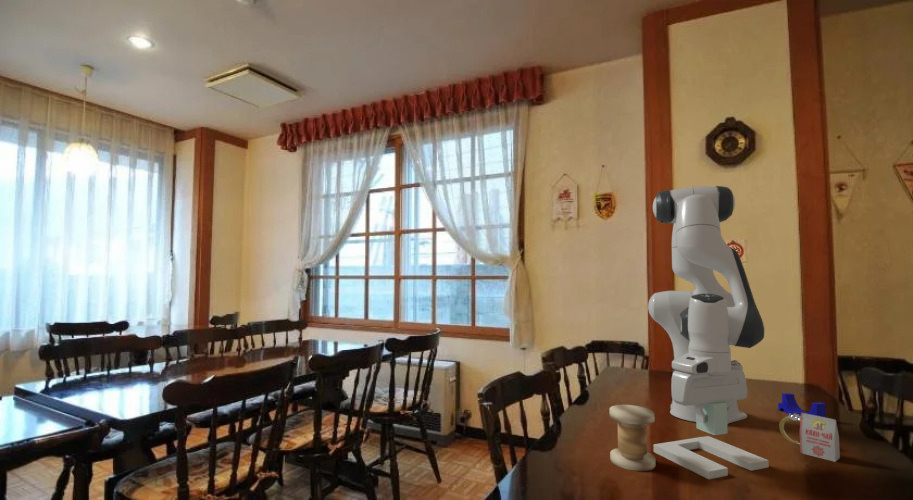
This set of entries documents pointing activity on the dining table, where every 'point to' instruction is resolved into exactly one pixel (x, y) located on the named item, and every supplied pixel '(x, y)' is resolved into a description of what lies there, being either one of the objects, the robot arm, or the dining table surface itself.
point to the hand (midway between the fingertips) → (711, 420)
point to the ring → (792, 417)
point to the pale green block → (714, 419)
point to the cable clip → (792, 407)
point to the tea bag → (819, 437)
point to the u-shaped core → (702, 465)
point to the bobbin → (632, 437)
